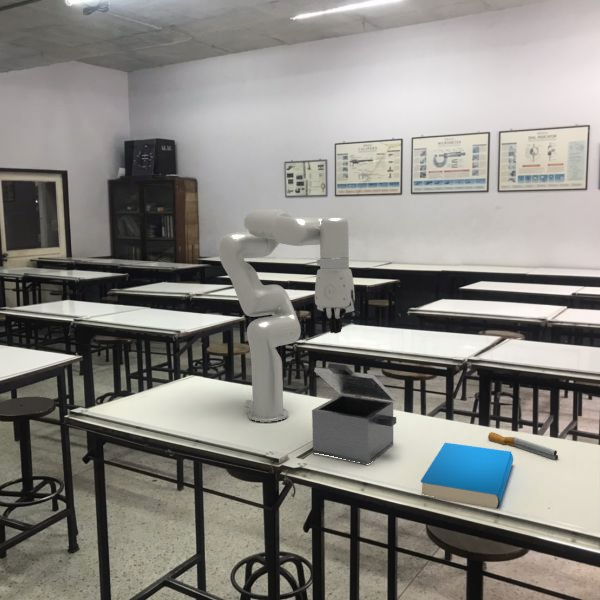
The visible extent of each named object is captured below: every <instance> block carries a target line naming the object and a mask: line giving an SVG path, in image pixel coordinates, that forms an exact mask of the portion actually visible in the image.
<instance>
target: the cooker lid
mask: <svg viewBox="0 0 600 600" xmlns="http://www.w3.org/2000/svg"><path fill="white" fill-rule="evenodd" d="M313 371H314V372H315V374H316V375H318V376H319V377H320V378H321V379H322V380H323V381H324V382H326V383H327V384H328V385H329V386H331V387H332V389H333V390H335V391H336V392H337V393H338V394H339V395H348V396H355V397H361V398H368V399H375V400H382V401H389V402H395V401H396V397H395V396H394V395H393V394H392V392H390V391H389V390H388V388H387V387H386V386H384V384H383V383H382V382H381V381H380V380H379V379H378V378H377V376H375V375H374V374H373V373H371V374H370V373H361V372H354V371H353V370H352V369H351V368H350V367H349V366H348V365H347V364H340V363H338V364H337V363H331V362H328V365H327V368H324V367H323V368H322V367H321V368H320V367H314V370H313Z"/></svg>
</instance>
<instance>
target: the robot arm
mask: <svg viewBox="0 0 600 600" xmlns="http://www.w3.org/2000/svg"><path fill="white" fill-rule="evenodd" d="M243 225H244V226H243V227H244V229H245V231H236V232H231V233H228V234H225V235H224V236H223V237H222V238H221V240H220V242H219V247H218V254H219V259H220V263H221V265H222V268H223V269H224V270H225V272H226V274H227V276H228V277H229V279H230V281H231V283H232V287H233V289H234V292H235V295H236V297H237V300H238V301H239V302H238V303H239V305H240V308H241V310H242V311H243V314H244V315H245V316H248V317H251V318H252V317H255V318H256V317H259V318H257V319H253V320H252V321H250V323H249V324H248V326H247V328H246V337H247V342H248V345H249V352H250V360H251V361H250V362H251V388H252V399H246V400H245V402H244V404H243V407H244V408H247V409H249V412H248V414H247V416H249V417H248V419H249V418H250V419H249V420H251V419H252V420H255V421H254V422H256V421H260V422H259V423H264V422H268V423H272V422H271V421H277V422H279V421H278V420H281V421H283V420H282V419H284V418H286V417H287V416H288V417H289V411H288V410H287V409H285V408H284V394H283V393H284V389H283V388H284V387H283V385H284V384H283V361H282V358H281V356H280V354H279V353H278V351H277V349H276V348H278V347H279V346H285V345H289V344H293V343H296V342H297V341H298V340H299V339H300V337H301V324H300V321H299V319H298V316H297V314H296V311H295V309H294V306H293V303H292V302H291V298H290V297H289V296H290V295H289V294H288V292H287V291H286V290H285V289H284V287H282V286H281V285H279V284H266V285H264V284H263V283H262V281H261V280H260V278H259V276H258V272H257V271H256V269H255V268H254V267H253V266H252V265H251V264H249V263H248V262H247V261H246V260H245V259H255V258H264V257H265V258H266V257H269V256H270V255H271V254H272V253H273V252H274V251H275V250H276V248H277V247H279V244H281V245H287V246H295V247H302V246H318V245H319V249H320V253H319V256H320V258H319V259H317V260H316V265H319V267H320V269H317V272H316V276H315V286H314V303H315V305H316V309H317V310H318V311H321V312H323V313H325V315H326V317H327V318H328V321H329V322H328V328H329V332H330V334H340V333H341V332H342V330H343V318H344V317H345V315H346V314H347V313H351V312H352V313H353V312H354V311H355V306H354V304H355V300H356V298H355V295H356V294H355V285H354V278H353V273H352V269H350V264H349V263H350V261H349V260H350V259H349V258H350V256H349V250H350V249H349V247H350V246H349V221H348V219H347V218H345V217H338V216H337V217H325V216H324V217H323V216H317V217H316V216H315V217H314V216H313V217H312V216H308V217H307V216H304V217H292V215H291V214H290V213H288V212H287V211H285V210H284V209H280V208H256V209H253V210H251V211H250V210H249V212H247V214H246V215H245V218H244V219H243ZM269 315H271V316H269ZM263 316H264V317H263ZM288 417H287V418H288ZM287 418H286V419H287ZM252 420H251V421H252ZM284 420H285V419H284Z"/></svg>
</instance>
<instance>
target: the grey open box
mask: <svg viewBox="0 0 600 600" xmlns="http://www.w3.org/2000/svg"><path fill="white" fill-rule="evenodd" d="M311 416H312V419H311V422H312V423H311V425H312V454H313V453H319V454H324V455H329V456H334V457H338V458H342V459H346V460H350V461H355V462H360V463H365V464H369V463H371V462H372V461H373V462H374V461H376V460H377V459H378V458H380V456H382V455H383V454H384V453H385V452H387V451H388V450H389V449H390V448H391V447H393V446H394V425H396V424H397V416H394V401H388V400H381V399H375V398H368V397H361V396H354V395H347V394H339V395H337V396H335V397H334V398H331V400H328V401H326V402H324V403H323V404H321V405H318V406H317V407H315V408H313V409H312V410H311ZM387 449H388V450H387ZM386 450H387V451H386ZM376 458H377V459H376ZM375 459H376V460H375ZM373 462H372V463H373ZM372 463H371V464H372Z"/></svg>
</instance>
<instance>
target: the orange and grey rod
mask: <svg viewBox="0 0 600 600" xmlns="http://www.w3.org/2000/svg"><path fill="white" fill-rule="evenodd" d="M487 439H488V441H490V442H493V443H499V444H502V445H509V446H513V447H515V448H519V449H521V450H524V451H528V452H531V453H534V454H537V455H540V456H542V457H545V458H549V459H550V460H554V461H556V460H558V459H559V455H558V450H556V449H552V448H550V447H547V446H544V445H540V444H538V443H536V442H535V443H534V442H531V441H528V440H525V439H522V438H520V437H516V436H503V435H501V434H499V433H496V432H493V431H492V432H489V433H488V435H487Z"/></svg>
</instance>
